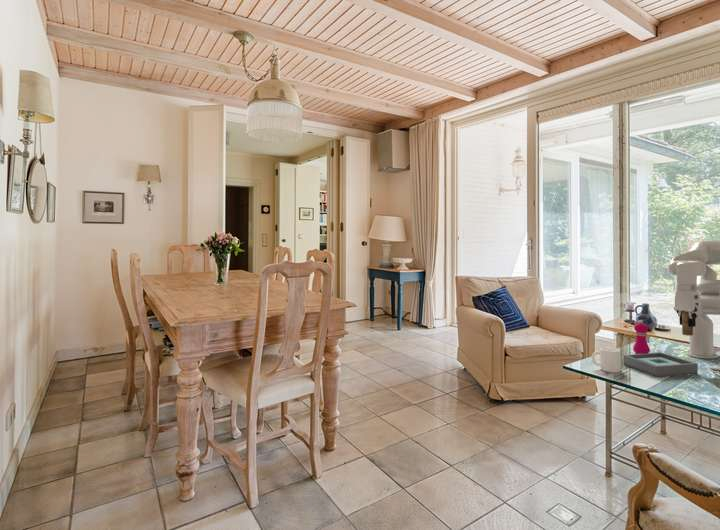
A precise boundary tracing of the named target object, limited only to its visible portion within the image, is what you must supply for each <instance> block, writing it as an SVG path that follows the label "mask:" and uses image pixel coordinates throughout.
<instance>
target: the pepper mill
mask: <svg viewBox="0 0 720 530" xmlns="http://www.w3.org/2000/svg"><path fill="white" fill-rule="evenodd" d="M633 327H634V328H633V329H634V331H635V337H636V339H635V342H634V344H633V348H632V349H633V351H634V354H645V353H651V348H650V347H649V344H648V342H647V336H648V331H649V327H648V325H647V324H646V323H644V321H643V320H642V319H640V320H639V321H638V323H635V324H634V325H633Z"/></svg>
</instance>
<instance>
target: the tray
mask: <svg viewBox="0 0 720 530" xmlns="http://www.w3.org/2000/svg"><path fill="white" fill-rule="evenodd" d="M623 366H625V367H628V368H631V369H633V370H636V371H638V370H639V372H641V373H643V372H644V374H646V373H647V374H646V375H648V374H649V376H651V375H652V376H651V377H653V378H656V377H657V378H667V376H670V377H678V376H677V375H683V376H689V375H688V374H696V375H699V374H698V373H699V372H698V363H696V362H694V361H690V360H687V359H684V358H680V357H677V356H674V355H671V354H668V353H664V352H662V351H661V352H649V353H645V354H635V353H634V354H633V353H632V354H623Z"/></svg>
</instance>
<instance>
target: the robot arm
mask: <svg viewBox="0 0 720 530" xmlns="http://www.w3.org/2000/svg"><path fill="white" fill-rule="evenodd" d="M708 265H709V266H708ZM711 265H720V239H719V240H701V241H697V242H695V243H694V244H693V245H692V247H691V248H690V250H688V251H685V252H683V253H679V254H677V255H675V256H674V257H672V259H671V260H670V262H669V264H668V272H669V274H670V275H672V276H675V277H676V290H675V296H674V307H673V311H675V312H676V314H677V315H678V317H679V326H682V311H683V310H684V311H686V312H688V313H689V318H688V326H689V327H693V335H692V336H689V350H687V351H685V355H686V356H689V357H692V358H696V359H707V360H708V359H709V360H712V359H718V357H719V355H718V354H717V352H719V353H720V347H714V343H715V342H714V322H713V320H712V319H711V318H710V317H709V316H710V315H712V316H720V279H717V278H718V274H717V271H715V270H714V269H713V268H711V267H710V266H711ZM692 313H693V315H692Z"/></svg>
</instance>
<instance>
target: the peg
mask: <svg viewBox="0 0 720 530" xmlns="http://www.w3.org/2000/svg"><path fill="white" fill-rule="evenodd" d="M692 315H693V313H692ZM688 318H689V313H688V312H686V311H684V310H683V311H682V325H681V330H682V331H681V334H682V335H683V336H688V337H690V336H692V335H693V327H689V326H688Z"/></svg>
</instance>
